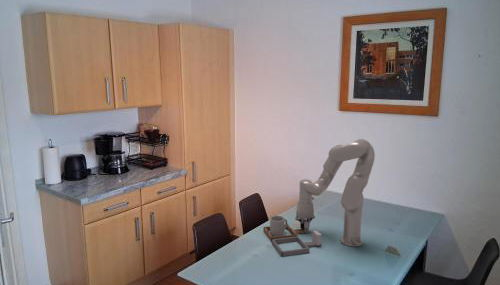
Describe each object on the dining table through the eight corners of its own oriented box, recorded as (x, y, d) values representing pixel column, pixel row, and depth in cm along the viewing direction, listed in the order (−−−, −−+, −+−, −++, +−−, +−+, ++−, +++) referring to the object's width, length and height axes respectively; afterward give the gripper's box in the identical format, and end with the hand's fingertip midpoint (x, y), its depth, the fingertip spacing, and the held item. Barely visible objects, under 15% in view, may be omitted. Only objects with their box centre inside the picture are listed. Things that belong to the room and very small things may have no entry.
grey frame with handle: (326, 250, 204) (326, 238, 203) (281, 256, 198) (281, 243, 196) (313, 238, 219) (314, 226, 218) (271, 243, 213) (272, 231, 212)
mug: (276, 240, 218) (276, 222, 216) (267, 235, 224) (267, 217, 222) (291, 234, 225) (291, 217, 223) (282, 230, 231) (282, 213, 229)
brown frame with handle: (313, 236, 221) (313, 225, 220) (271, 241, 215) (271, 230, 214) (302, 226, 237) (302, 215, 235) (263, 230, 230) (263, 219, 229)
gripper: (315, 197, 231) (314, 225, 234) (290, 199, 226) (290, 227, 230) (320, 200, 223) (319, 229, 227) (295, 203, 219) (294, 232, 223)
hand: (304, 228), depth 228 cm, fingers closed on brown frame with handle, 2 cm apart
